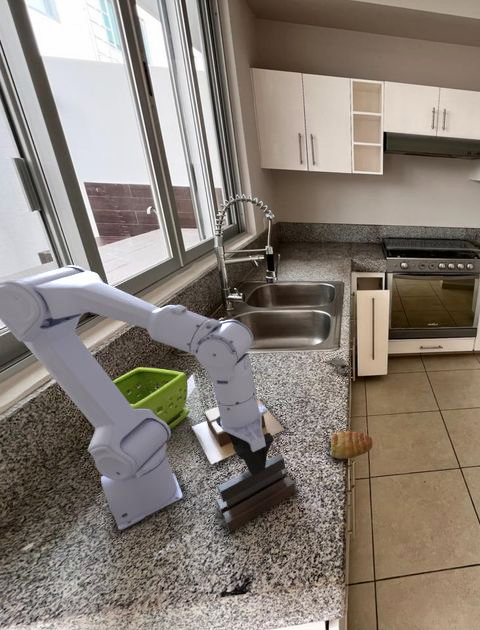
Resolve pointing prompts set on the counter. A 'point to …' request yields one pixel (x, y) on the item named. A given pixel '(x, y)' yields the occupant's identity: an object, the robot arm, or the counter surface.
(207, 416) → the cake back
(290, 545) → the counter surface
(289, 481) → the stand
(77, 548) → the counter surface
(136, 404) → the flower pot
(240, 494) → the knife
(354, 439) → the pastry
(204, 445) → the cake board
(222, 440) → the cake front
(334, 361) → the meat cleaver
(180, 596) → the counter surface
